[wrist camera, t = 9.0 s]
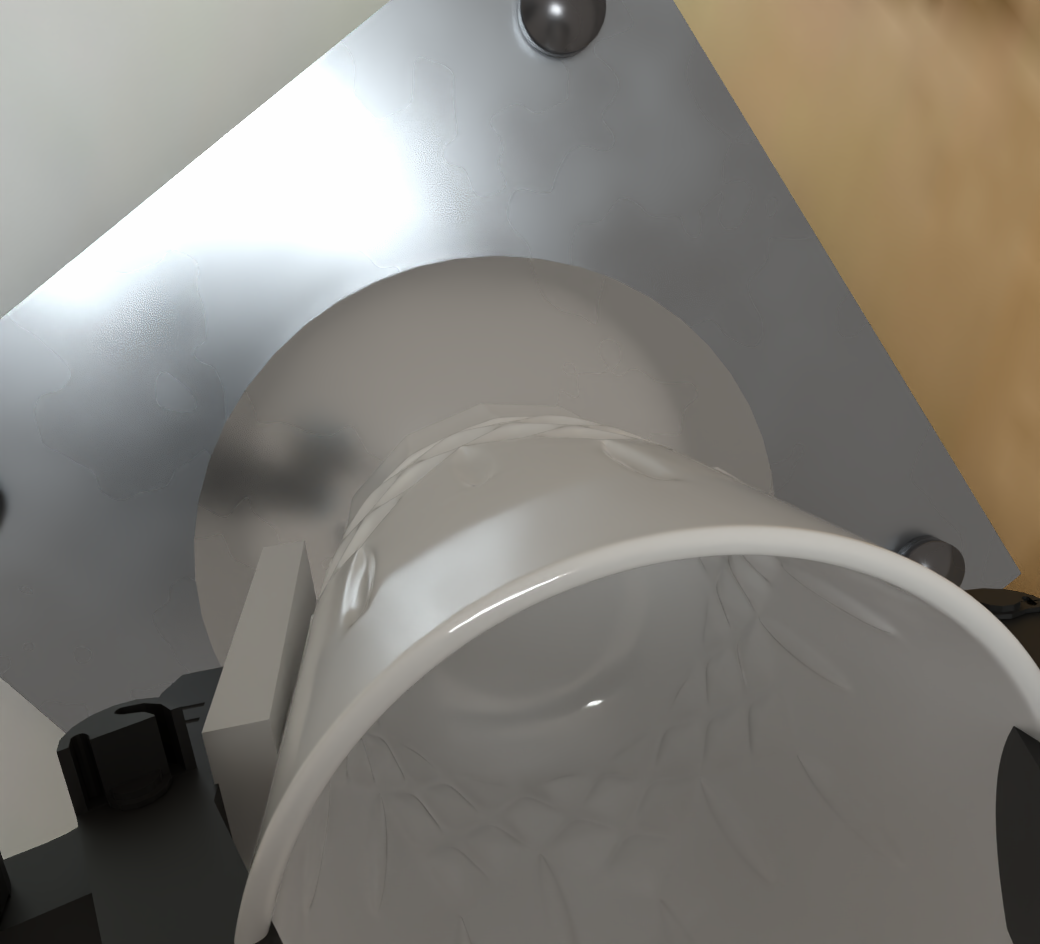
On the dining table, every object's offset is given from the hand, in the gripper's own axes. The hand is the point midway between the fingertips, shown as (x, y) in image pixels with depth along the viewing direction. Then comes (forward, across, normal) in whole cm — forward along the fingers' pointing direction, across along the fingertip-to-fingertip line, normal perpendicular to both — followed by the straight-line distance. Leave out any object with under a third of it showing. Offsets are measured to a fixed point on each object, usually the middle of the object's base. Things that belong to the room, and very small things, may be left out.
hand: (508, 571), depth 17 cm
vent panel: (+3, 0, 0) cm, 3 cm away
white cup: (+1, 0, 0) cm, 1 cm away
